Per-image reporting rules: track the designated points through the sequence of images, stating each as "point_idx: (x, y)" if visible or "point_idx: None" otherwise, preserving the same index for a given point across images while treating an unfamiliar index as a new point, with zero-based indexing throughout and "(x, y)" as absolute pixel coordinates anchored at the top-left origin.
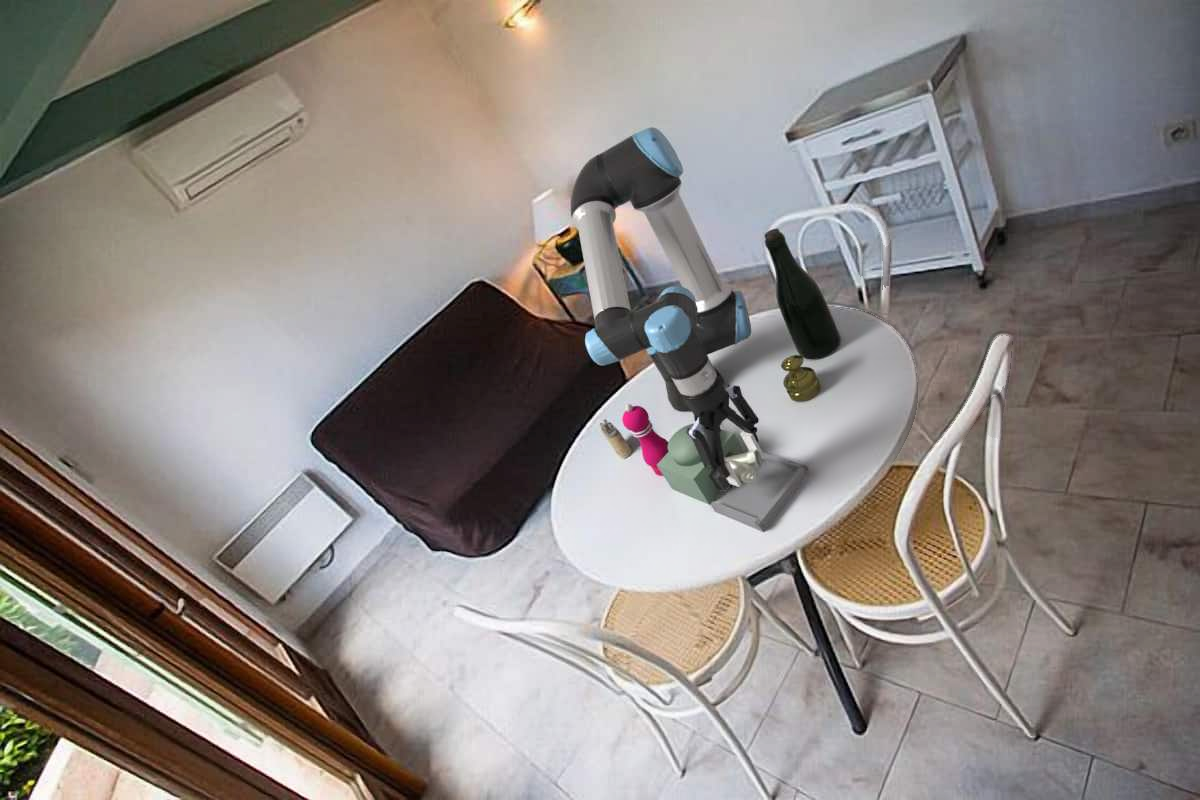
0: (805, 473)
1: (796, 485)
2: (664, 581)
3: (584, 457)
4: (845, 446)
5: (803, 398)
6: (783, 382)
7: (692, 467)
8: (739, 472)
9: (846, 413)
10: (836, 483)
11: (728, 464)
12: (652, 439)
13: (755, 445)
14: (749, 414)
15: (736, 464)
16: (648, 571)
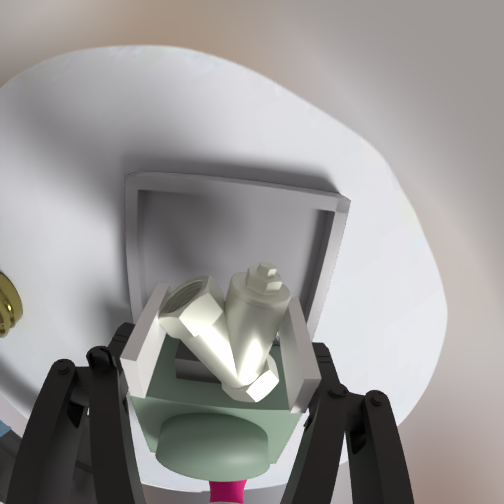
0: (145, 172)
1: (187, 175)
2: (446, 315)
3: (248, 485)
4: (56, 140)
5: (10, 291)
6: (4, 336)
7: (267, 425)
8: (277, 320)
9: (3, 194)
10: (151, 90)
11: (310, 371)
12: (229, 487)
13: (149, 324)
14: (54, 417)
15: (250, 347)
16: (428, 348)
